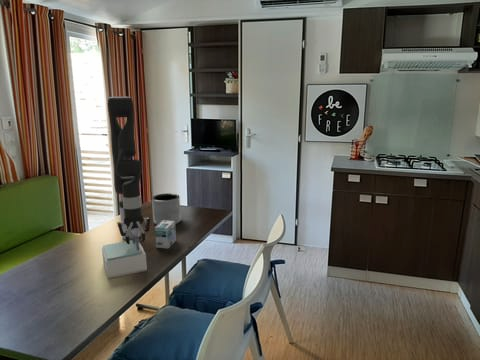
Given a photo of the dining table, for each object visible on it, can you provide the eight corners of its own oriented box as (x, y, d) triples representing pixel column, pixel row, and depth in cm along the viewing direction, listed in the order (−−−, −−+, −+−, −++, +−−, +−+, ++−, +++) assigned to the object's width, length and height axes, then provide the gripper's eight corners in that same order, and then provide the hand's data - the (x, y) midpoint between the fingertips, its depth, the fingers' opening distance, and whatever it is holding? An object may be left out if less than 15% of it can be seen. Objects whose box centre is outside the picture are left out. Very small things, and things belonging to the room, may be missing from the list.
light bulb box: (168, 248, 178) (167, 228, 175) (155, 247, 179) (154, 227, 177) (176, 240, 188) (175, 220, 186) (164, 239, 189) (163, 219, 187)
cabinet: (103, 263, 163) (101, 246, 161) (139, 256, 170) (138, 240, 168) (108, 279, 149) (106, 261, 148) (147, 270, 156) (145, 253, 154)
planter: (178, 226, 207) (176, 200, 203) (150, 227, 207) (148, 200, 203) (183, 217, 222) (181, 192, 218) (156, 217, 222) (155, 193, 219)
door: (102, 246, 161) (101, 233, 160) (135, 240, 167) (134, 228, 166) (107, 260, 148) (105, 246, 147) (141, 253, 154) (140, 239, 153)
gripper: (147, 201, 162) (150, 236, 166) (113, 205, 156) (117, 242, 160) (151, 205, 155) (153, 242, 160) (116, 210, 149) (120, 248, 153)
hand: (135, 242), depth 160 cm, fingers open, 5 cm apart
